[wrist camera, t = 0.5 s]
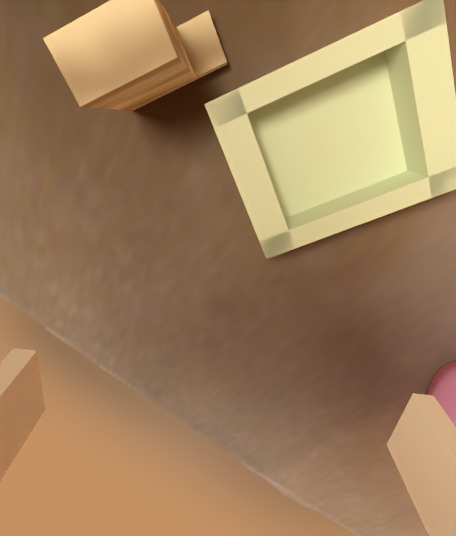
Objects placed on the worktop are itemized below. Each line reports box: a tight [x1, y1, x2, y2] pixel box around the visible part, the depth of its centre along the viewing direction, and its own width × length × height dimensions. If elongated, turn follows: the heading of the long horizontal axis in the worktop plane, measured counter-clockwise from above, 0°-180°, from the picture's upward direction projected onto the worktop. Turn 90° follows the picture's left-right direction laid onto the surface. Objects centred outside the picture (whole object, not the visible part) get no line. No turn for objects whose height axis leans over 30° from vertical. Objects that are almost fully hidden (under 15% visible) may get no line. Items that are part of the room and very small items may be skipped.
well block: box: [204, 0, 456, 259], centre depth 31 cm, size 15×19×5 cm
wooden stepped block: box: [43, 0, 227, 111], centre depth 25 cm, size 4×10×12 cm, turn 113°
